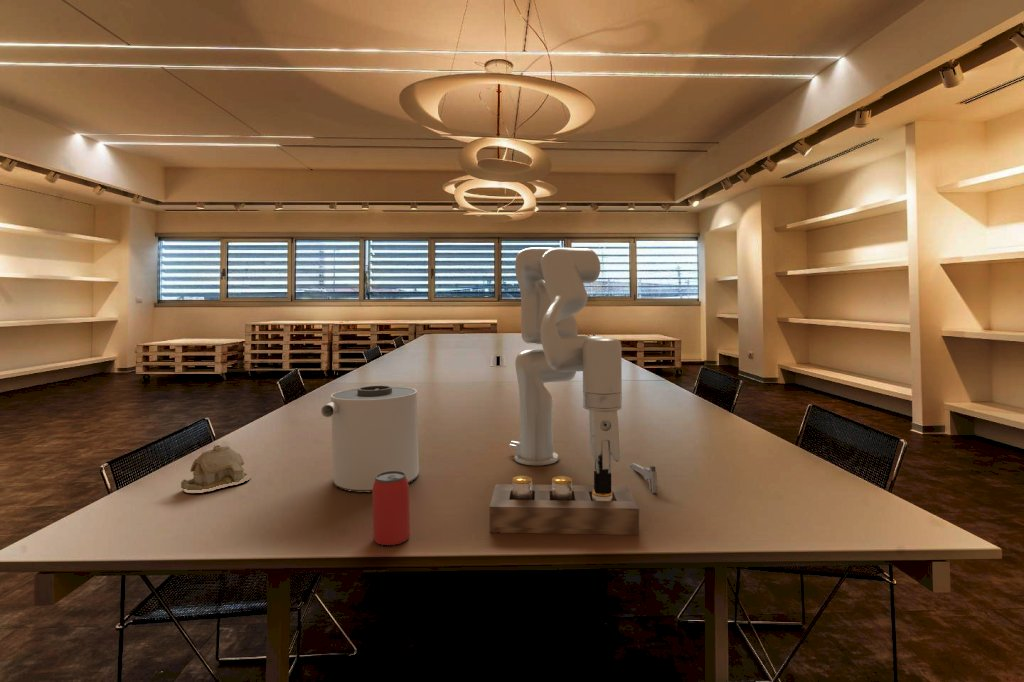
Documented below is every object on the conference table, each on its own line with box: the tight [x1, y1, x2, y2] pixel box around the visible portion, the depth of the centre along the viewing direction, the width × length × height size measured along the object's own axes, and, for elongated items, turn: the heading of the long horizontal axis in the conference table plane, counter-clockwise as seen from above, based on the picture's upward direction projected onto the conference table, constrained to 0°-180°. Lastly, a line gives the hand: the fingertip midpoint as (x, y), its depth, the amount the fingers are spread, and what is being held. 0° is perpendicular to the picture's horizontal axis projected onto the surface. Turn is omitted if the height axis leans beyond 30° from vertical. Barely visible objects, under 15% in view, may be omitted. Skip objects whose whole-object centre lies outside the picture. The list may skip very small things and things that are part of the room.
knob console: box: [489, 483, 640, 536], centre depth 95 cm, size 28×12×5 cm, turn 86°
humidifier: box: [320, 385, 420, 491], centre depth 120 cm, size 22×21×23 cm
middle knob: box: [551, 475, 573, 501], centre depth 95 cm, size 4×4×5 cm
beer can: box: [371, 471, 411, 547], centre depth 88 cm, size 7×7×12 cm
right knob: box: [592, 489, 612, 501], centre depth 95 cm, size 4×4×5 cm
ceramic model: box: [180, 444, 247, 490], centre depth 118 cm, size 14×11×10 cm
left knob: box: [511, 475, 533, 500], centre depth 95 cm, size 4×4×5 cm
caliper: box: [629, 462, 658, 494], centre depth 119 cm, size 20×1×6 cm, turn 0°
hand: (602, 491), depth 94 cm, fingers closed
